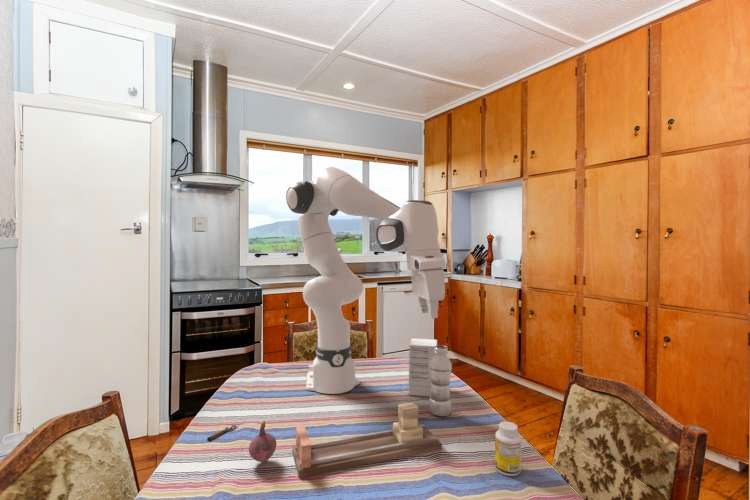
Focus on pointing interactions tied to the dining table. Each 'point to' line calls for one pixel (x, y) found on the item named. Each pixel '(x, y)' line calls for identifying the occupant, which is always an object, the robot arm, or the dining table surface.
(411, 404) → the block
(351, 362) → the robot arm
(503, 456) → the supplement bottle
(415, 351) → the supplement box
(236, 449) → the dining table surface
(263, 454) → the vegetable
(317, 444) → the rail board
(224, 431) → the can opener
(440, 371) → the plastic bottle
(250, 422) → the dining table surface
